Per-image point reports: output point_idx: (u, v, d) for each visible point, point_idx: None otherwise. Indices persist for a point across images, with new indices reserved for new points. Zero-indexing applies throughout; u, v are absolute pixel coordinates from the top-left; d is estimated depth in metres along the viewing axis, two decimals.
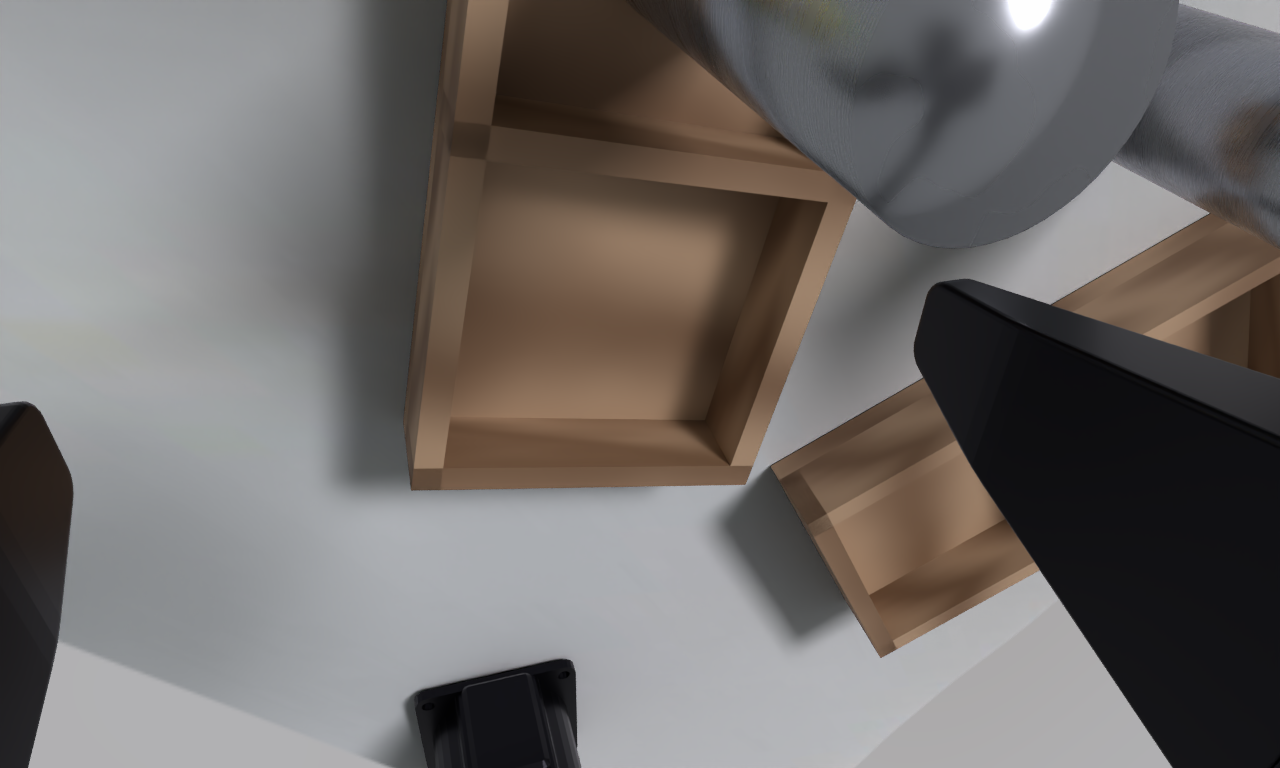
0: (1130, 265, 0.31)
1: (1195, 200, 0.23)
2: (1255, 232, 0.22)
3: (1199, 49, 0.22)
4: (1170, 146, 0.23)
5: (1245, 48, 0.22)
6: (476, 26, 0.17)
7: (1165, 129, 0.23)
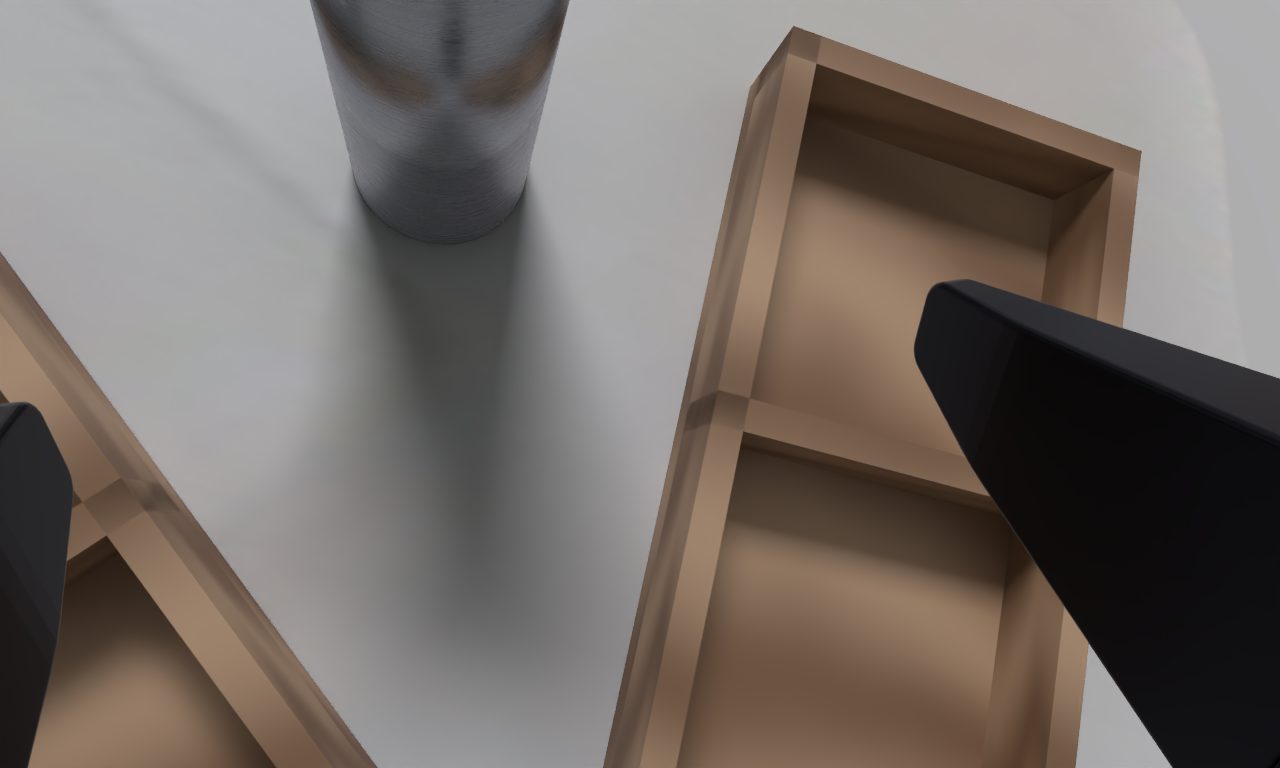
0: (716, 252, 0.24)
1: (453, 156, 0.17)
2: (457, 112, 0.15)
3: None
4: (382, 153, 0.18)
5: None
6: None
7: (368, 148, 0.18)
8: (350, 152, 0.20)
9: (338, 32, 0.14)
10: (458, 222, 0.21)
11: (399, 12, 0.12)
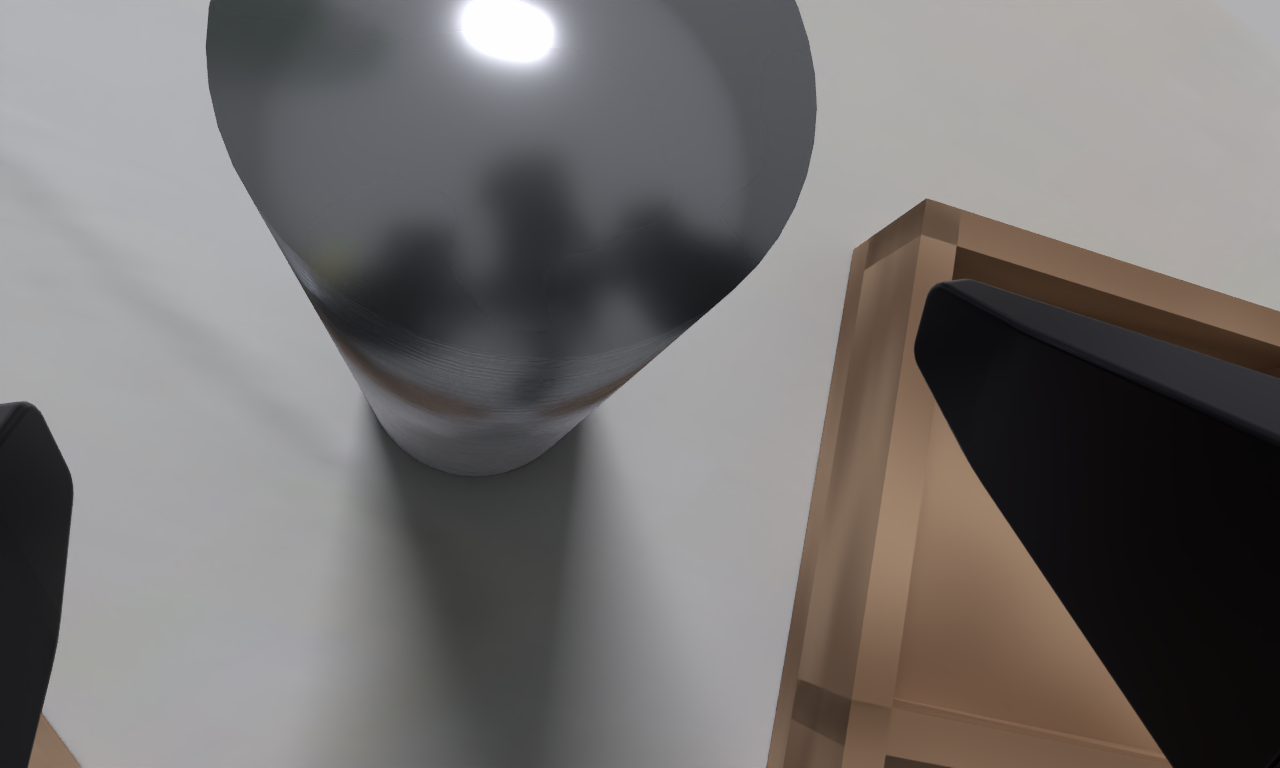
0: (821, 466, 0.19)
1: (510, 448, 0.12)
2: (526, 431, 0.10)
3: None
4: (410, 434, 0.13)
5: None
6: None
7: (391, 422, 0.13)
8: None
9: (354, 361, 0.09)
10: (504, 467, 0.16)
11: (453, 388, 0.08)
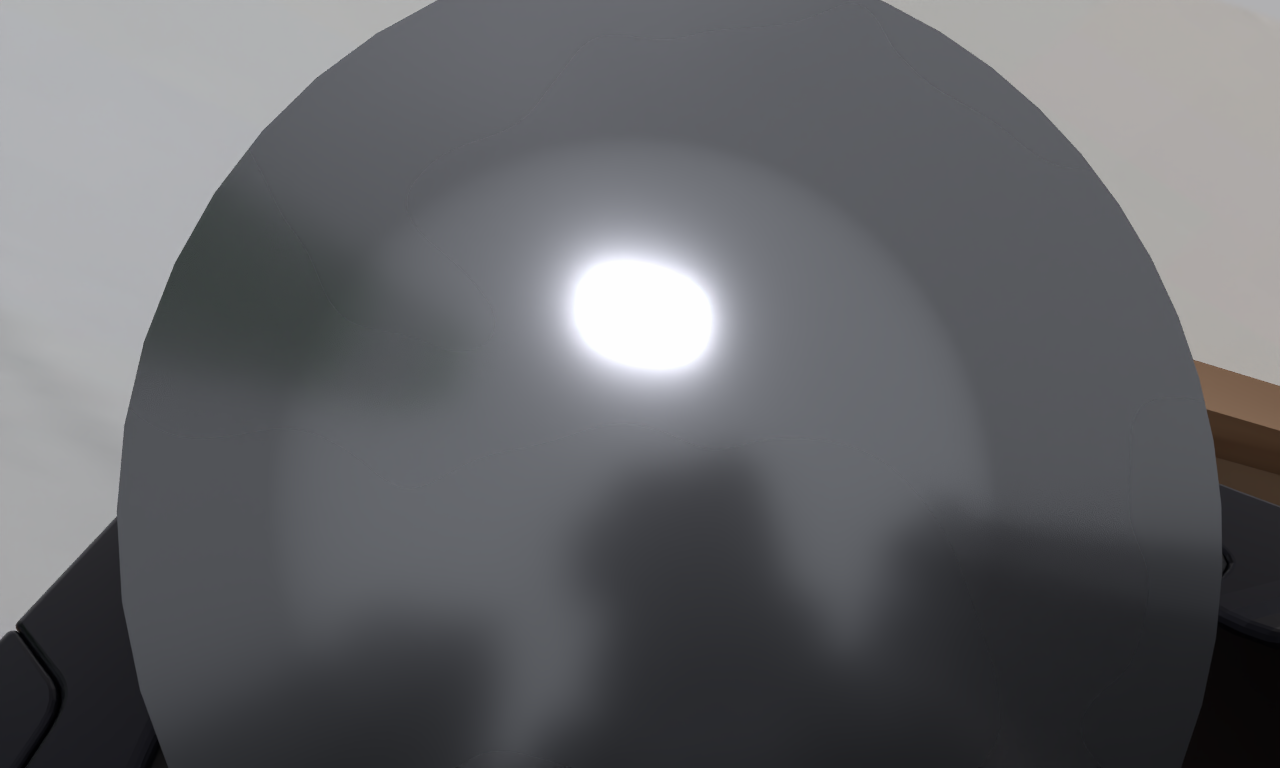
0: None
1: None
2: None
3: None
4: None
5: None
6: None
7: None
8: None
9: None
10: None
11: None
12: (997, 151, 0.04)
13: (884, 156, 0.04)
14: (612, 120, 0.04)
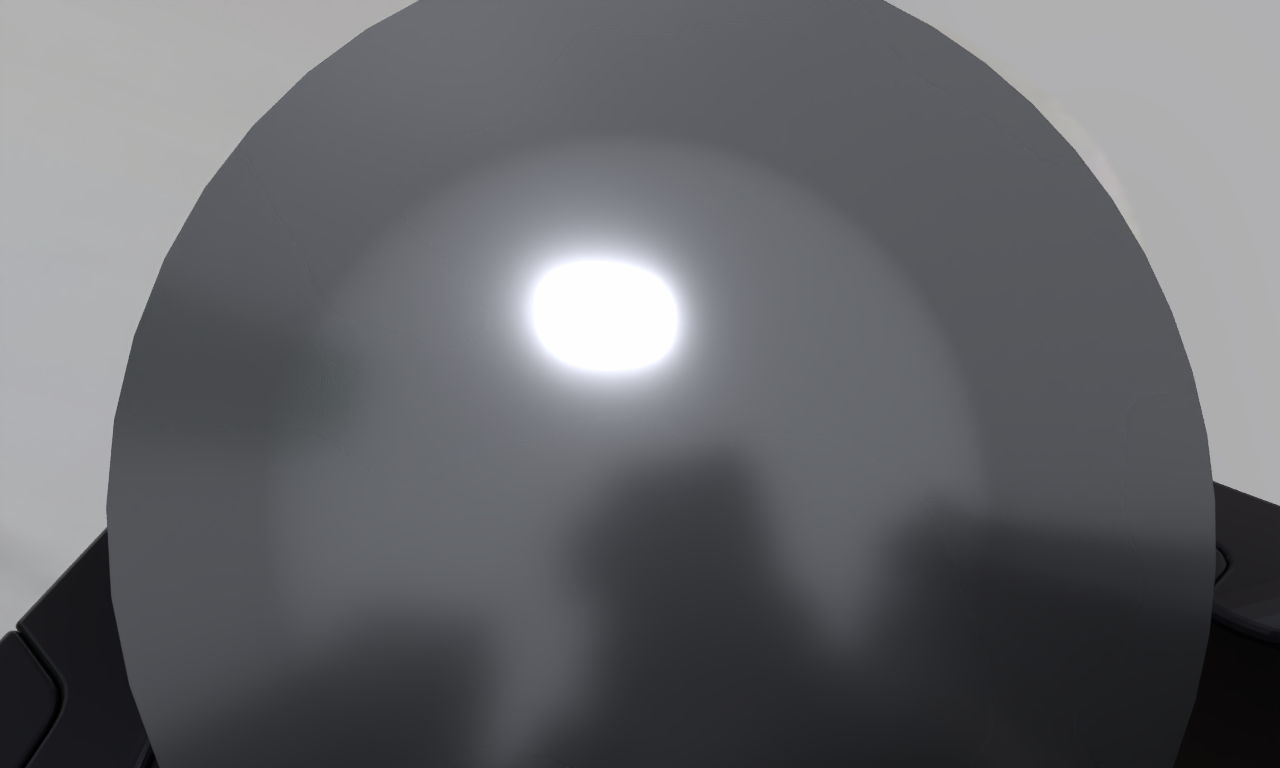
0: None
1: None
2: None
3: None
4: None
5: None
6: None
7: None
8: None
9: None
10: None
11: None
12: (993, 146, 0.04)
13: (877, 151, 0.04)
14: (604, 115, 0.03)
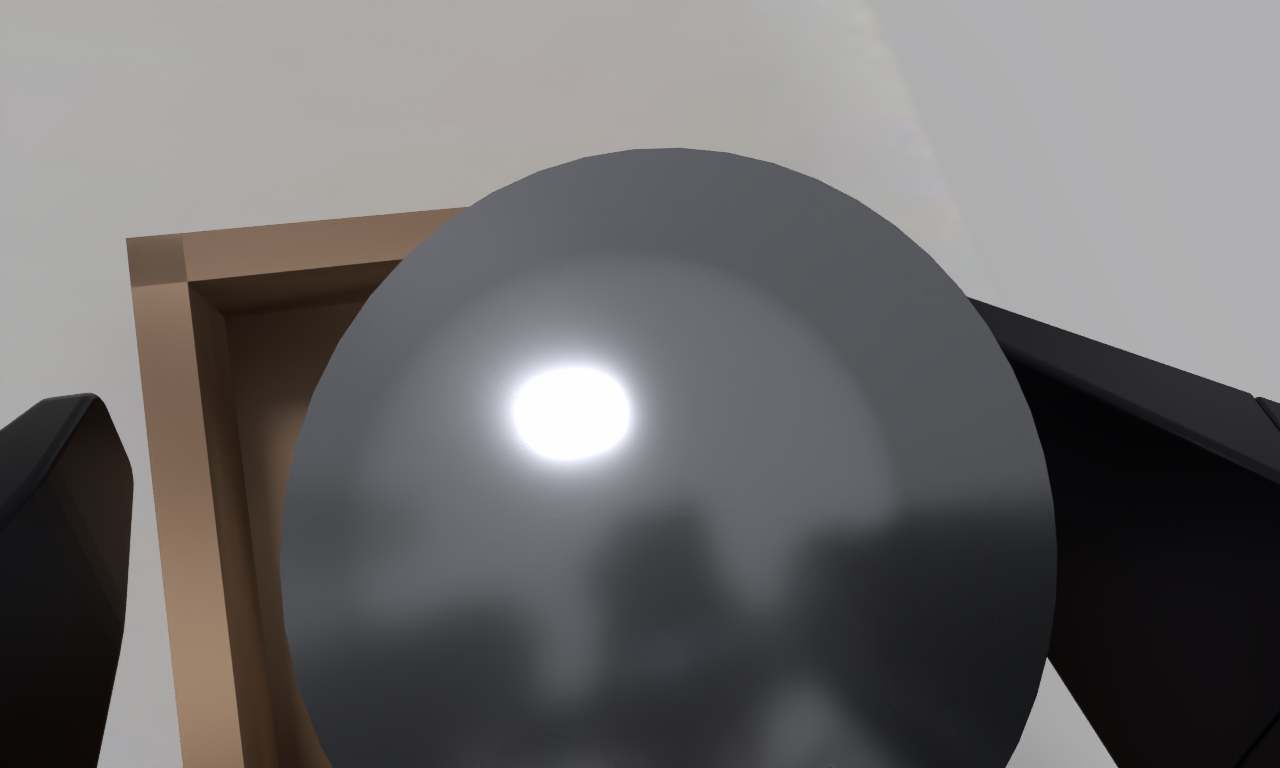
0: None
1: None
2: None
3: None
4: None
5: None
6: None
7: None
8: None
9: None
10: None
11: None
12: (898, 290, 0.05)
13: (813, 297, 0.05)
14: (615, 278, 0.05)
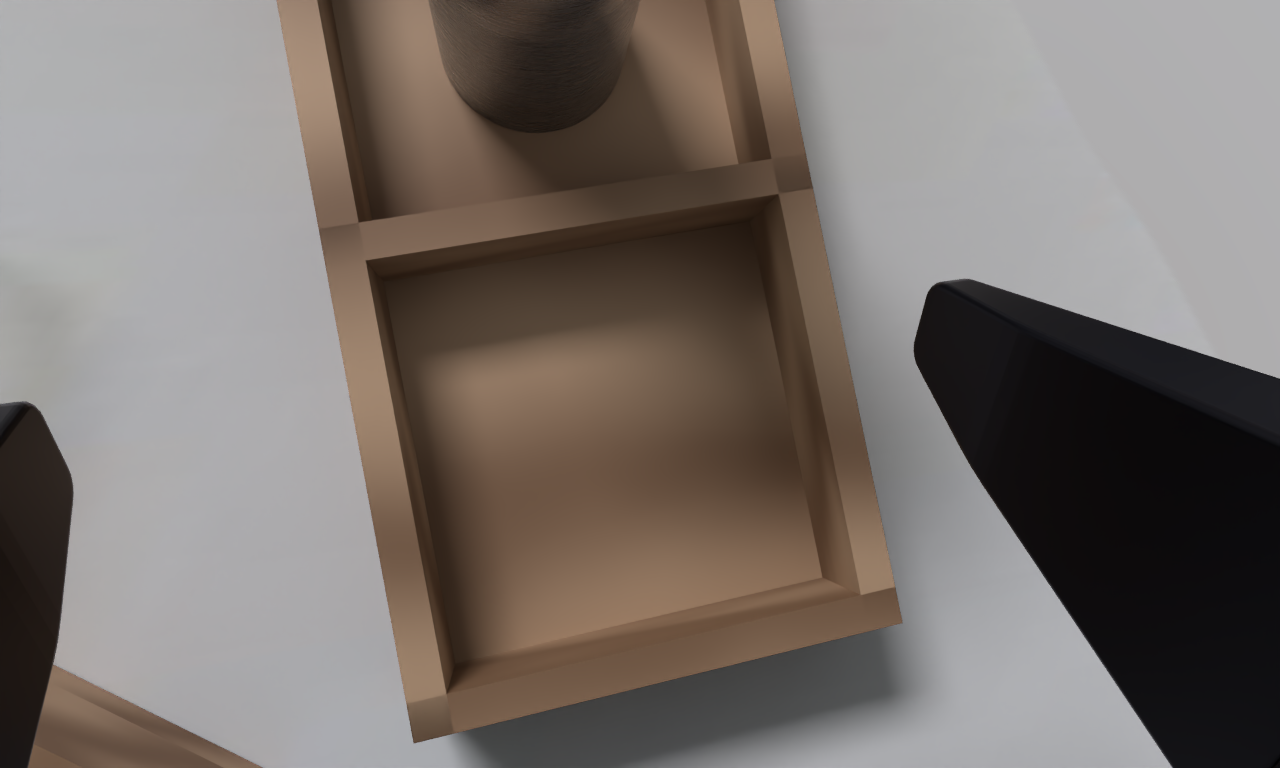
0: None
1: (556, 24, 0.15)
2: None
3: None
4: (477, 26, 0.16)
5: None
6: None
7: (461, 23, 0.16)
8: (439, 32, 0.18)
9: None
10: (556, 106, 0.19)
11: None
12: None
13: None
14: None
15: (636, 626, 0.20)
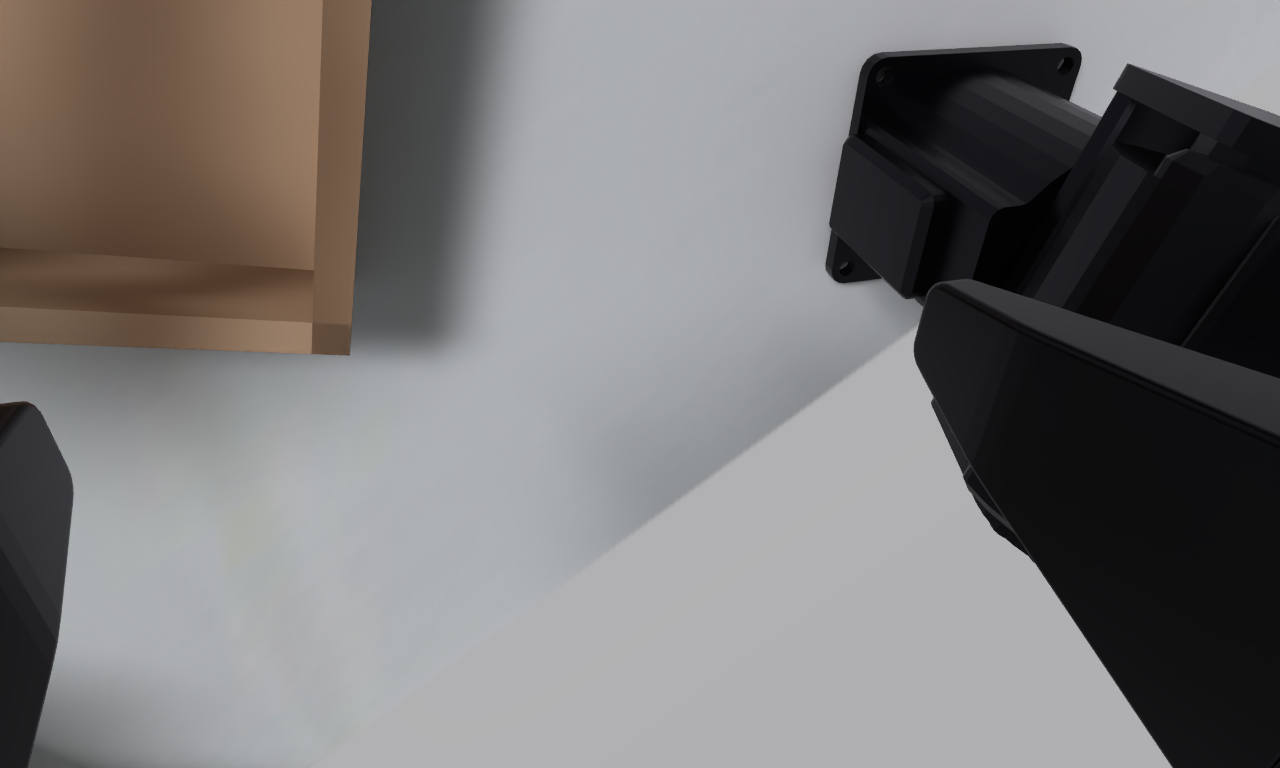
0: None
1: None
2: None
3: None
4: None
5: None
6: None
7: None
8: None
9: None
10: None
11: None
12: None
13: None
14: None
15: None
